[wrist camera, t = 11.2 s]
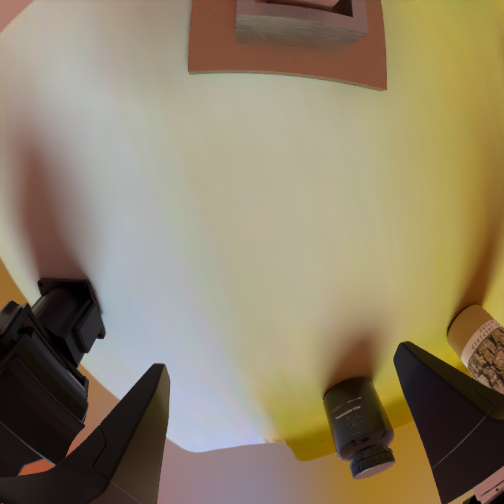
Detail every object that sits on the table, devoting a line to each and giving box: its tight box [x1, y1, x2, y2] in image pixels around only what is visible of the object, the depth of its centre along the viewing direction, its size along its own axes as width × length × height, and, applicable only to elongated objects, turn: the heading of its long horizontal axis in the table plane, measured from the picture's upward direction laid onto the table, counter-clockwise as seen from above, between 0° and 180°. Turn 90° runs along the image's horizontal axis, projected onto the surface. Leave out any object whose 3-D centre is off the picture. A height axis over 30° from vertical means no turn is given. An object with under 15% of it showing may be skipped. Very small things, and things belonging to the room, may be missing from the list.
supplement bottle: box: [323, 378, 395, 480], centre depth 25 cm, size 7×7×12 cm
